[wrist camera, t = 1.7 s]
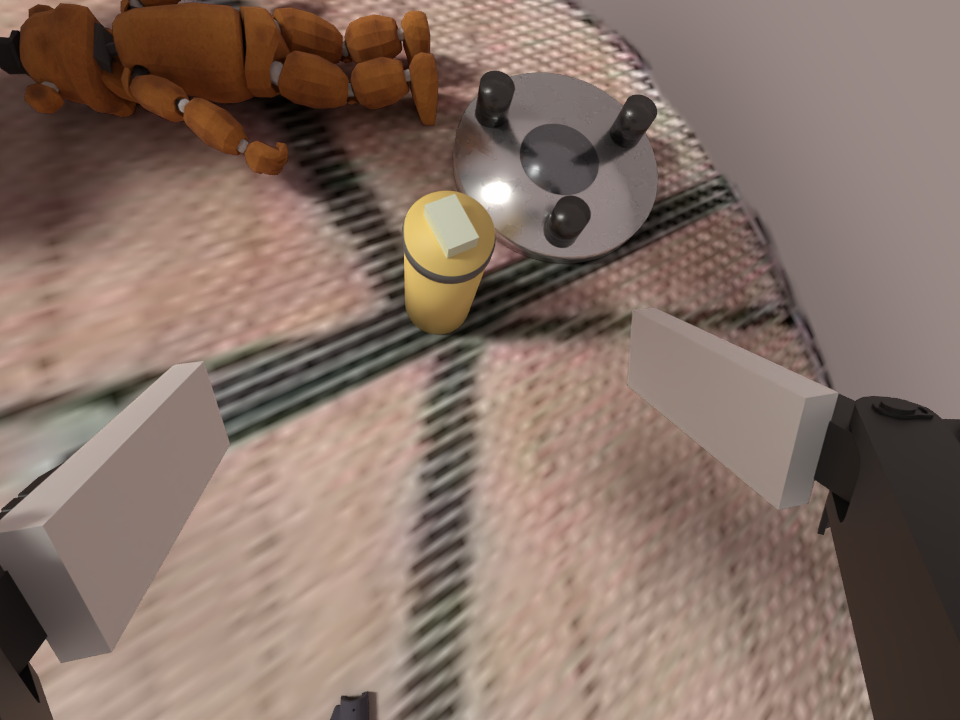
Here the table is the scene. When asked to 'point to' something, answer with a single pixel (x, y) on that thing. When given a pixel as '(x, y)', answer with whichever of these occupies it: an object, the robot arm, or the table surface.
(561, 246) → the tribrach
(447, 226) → the travel mug
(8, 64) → the toy
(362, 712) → the bracket
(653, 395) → the robot arm
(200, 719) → the table surface
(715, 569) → the table surface
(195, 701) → the table surface
